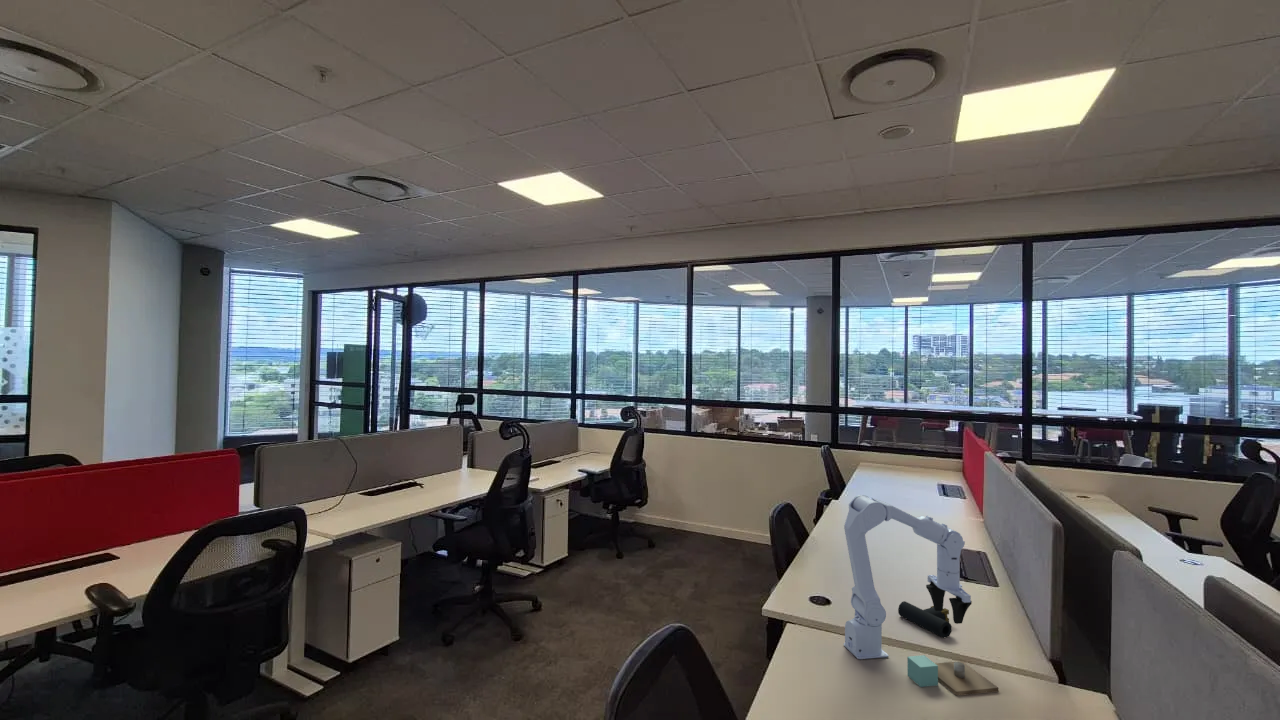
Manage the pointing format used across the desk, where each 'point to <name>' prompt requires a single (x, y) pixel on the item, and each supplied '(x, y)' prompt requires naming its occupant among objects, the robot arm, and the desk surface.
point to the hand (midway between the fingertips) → (948, 616)
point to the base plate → (963, 679)
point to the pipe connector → (927, 618)
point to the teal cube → (922, 670)
